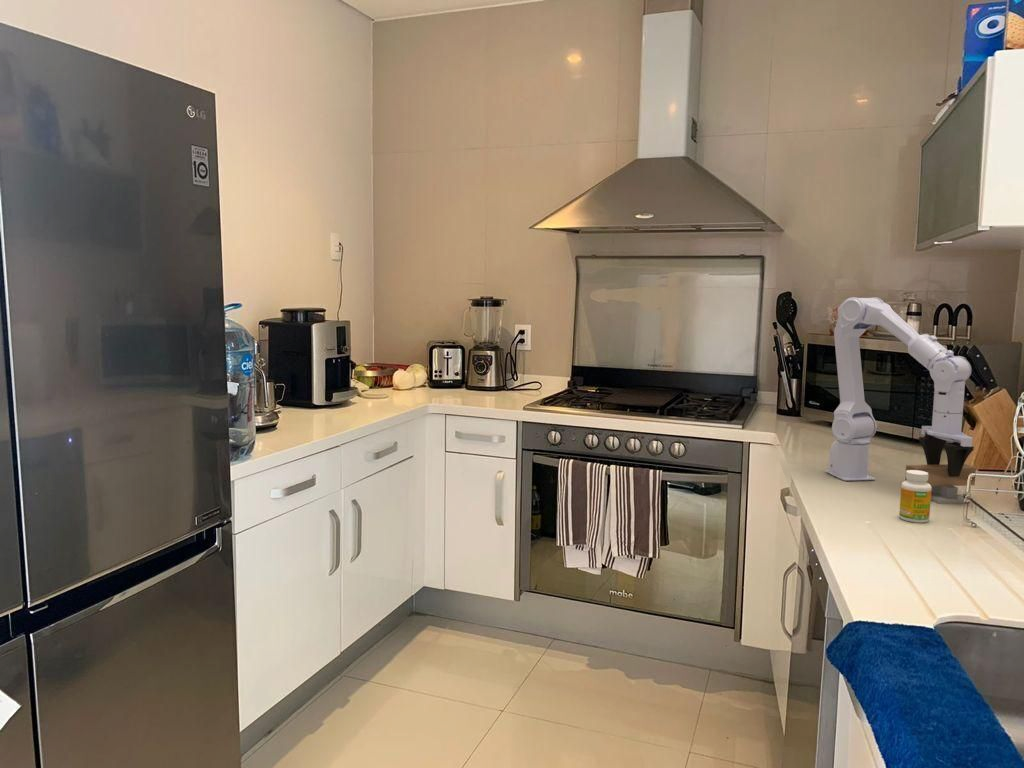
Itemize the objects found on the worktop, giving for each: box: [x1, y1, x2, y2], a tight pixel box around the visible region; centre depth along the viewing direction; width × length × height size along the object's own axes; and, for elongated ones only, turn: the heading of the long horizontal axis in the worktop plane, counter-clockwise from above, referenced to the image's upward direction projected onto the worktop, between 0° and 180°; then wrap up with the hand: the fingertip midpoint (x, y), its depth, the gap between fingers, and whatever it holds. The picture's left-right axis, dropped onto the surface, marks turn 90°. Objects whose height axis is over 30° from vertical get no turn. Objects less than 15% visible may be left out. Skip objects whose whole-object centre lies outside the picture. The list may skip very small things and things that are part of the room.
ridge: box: [931, 486, 965, 505], centre depth 172 cm, size 9×7×3 cm
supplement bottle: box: [898, 470, 932, 524], centre depth 155 cm, size 5×5×10 cm
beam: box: [904, 463, 977, 487], centre depth 172 cm, size 4×14×4 cm, turn 95°
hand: (943, 472), depth 172 cm, fingers open, 7 cm apart
